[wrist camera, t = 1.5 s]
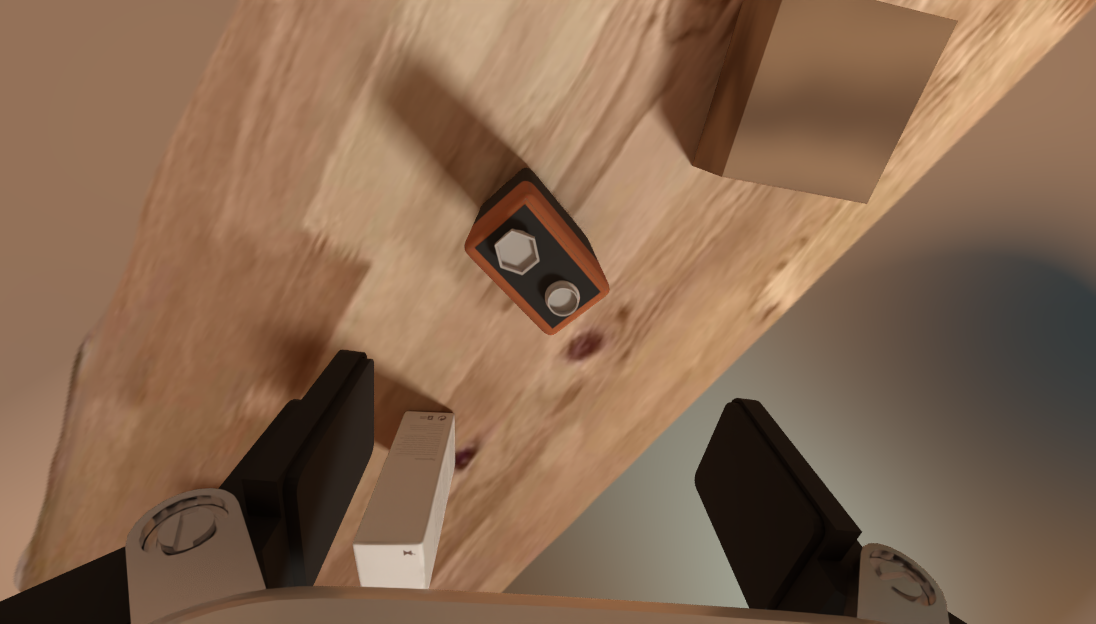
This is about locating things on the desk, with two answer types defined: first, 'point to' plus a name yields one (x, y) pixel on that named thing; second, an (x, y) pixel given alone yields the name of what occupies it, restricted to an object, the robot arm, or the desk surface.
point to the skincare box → (408, 504)
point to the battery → (536, 253)
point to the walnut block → (818, 93)
